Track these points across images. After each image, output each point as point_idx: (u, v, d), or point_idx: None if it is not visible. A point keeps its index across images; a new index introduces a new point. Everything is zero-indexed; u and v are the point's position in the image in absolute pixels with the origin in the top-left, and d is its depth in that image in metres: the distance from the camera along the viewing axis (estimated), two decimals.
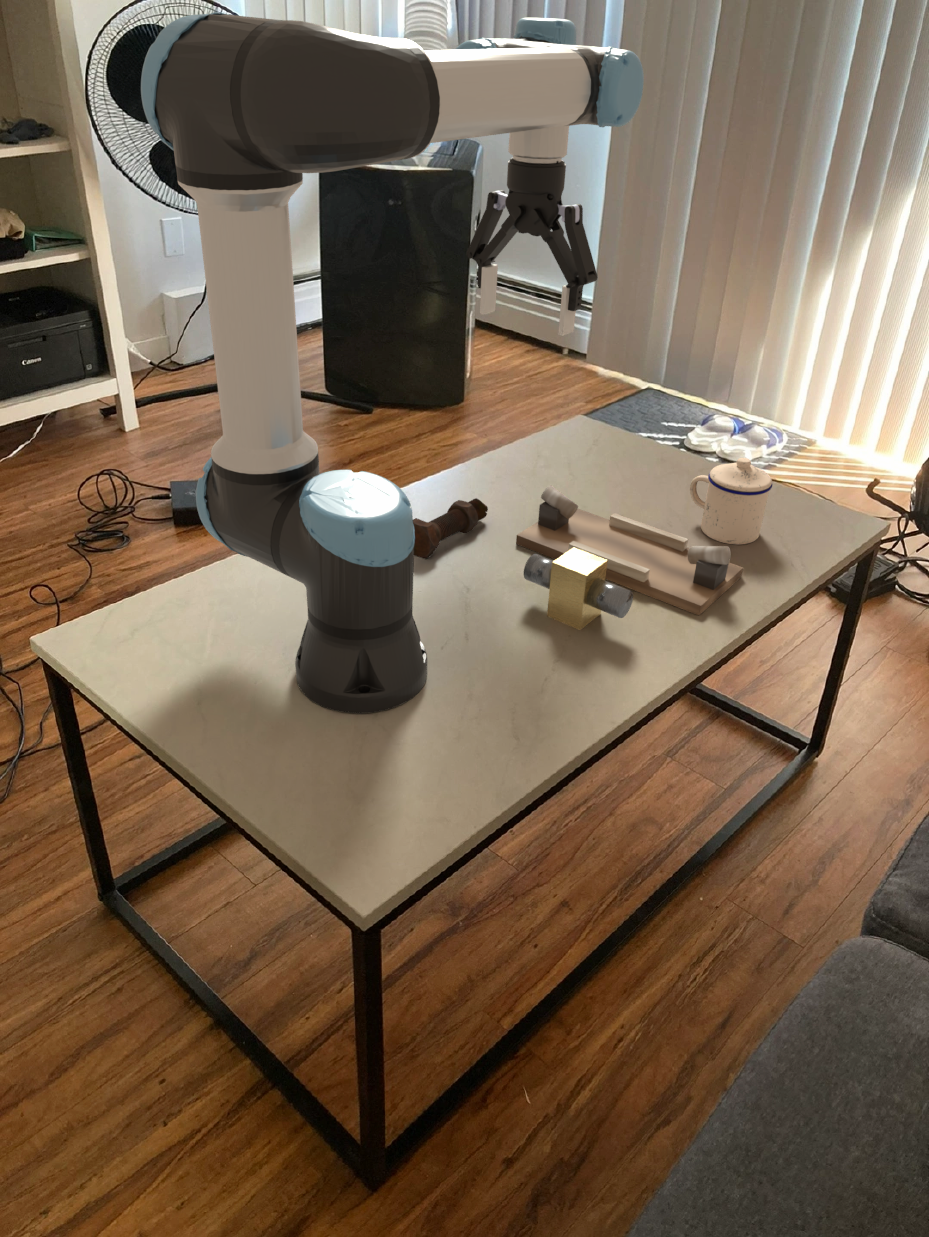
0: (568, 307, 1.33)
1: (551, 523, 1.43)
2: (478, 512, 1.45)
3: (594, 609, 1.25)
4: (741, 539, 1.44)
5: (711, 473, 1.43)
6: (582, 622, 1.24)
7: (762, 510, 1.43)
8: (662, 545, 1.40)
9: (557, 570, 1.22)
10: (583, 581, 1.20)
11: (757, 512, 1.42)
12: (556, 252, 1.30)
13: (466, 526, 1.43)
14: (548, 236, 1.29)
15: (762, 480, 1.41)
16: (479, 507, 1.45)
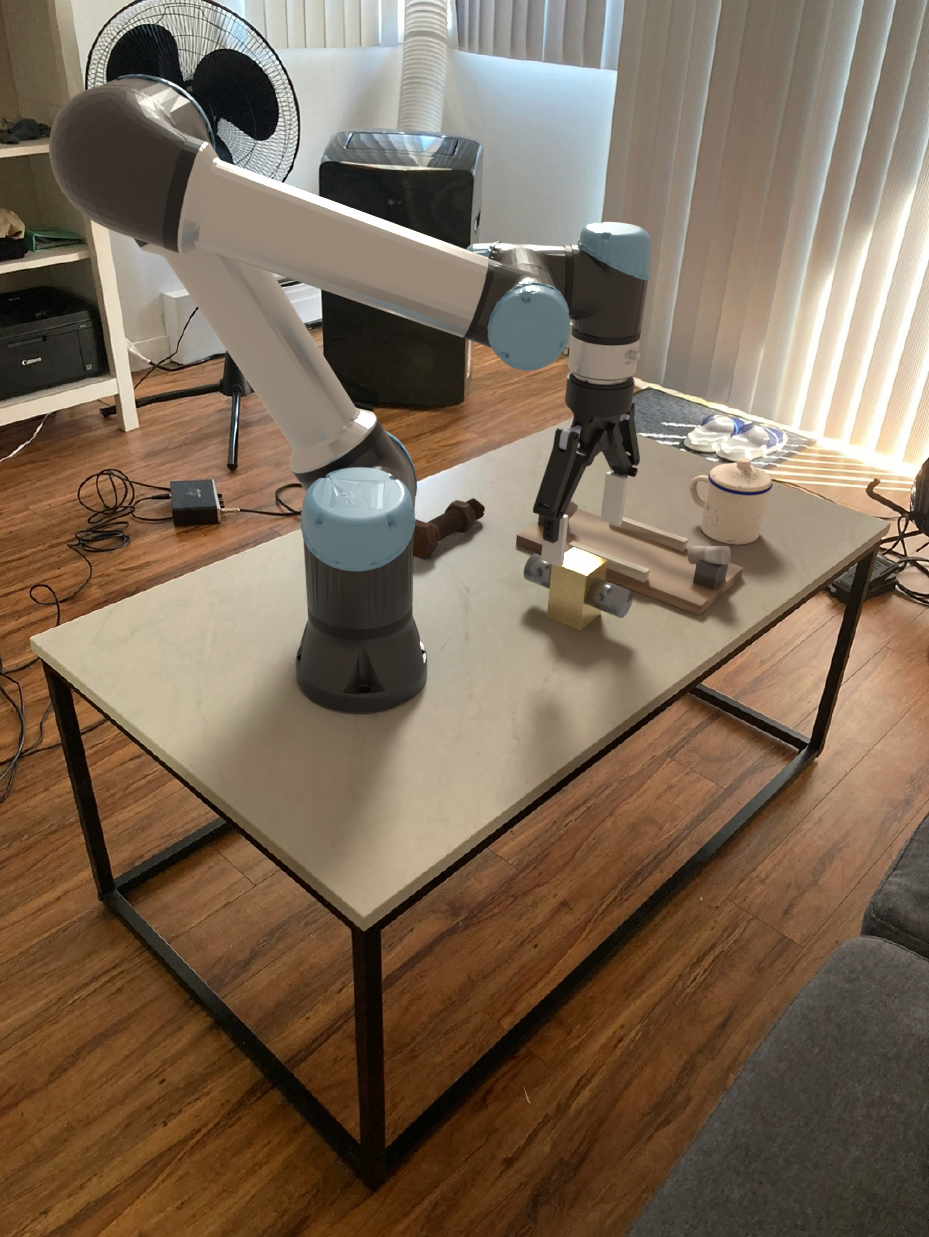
0: None
1: None
2: (475, 512, 1.45)
3: (594, 609, 1.25)
4: (741, 539, 1.44)
5: (711, 473, 1.43)
6: (582, 622, 1.24)
7: (762, 510, 1.43)
8: (662, 545, 1.40)
9: (557, 570, 1.22)
10: (583, 581, 1.20)
11: (757, 512, 1.42)
12: None
13: (464, 526, 1.43)
14: None
15: (762, 480, 1.41)
16: (476, 507, 1.45)
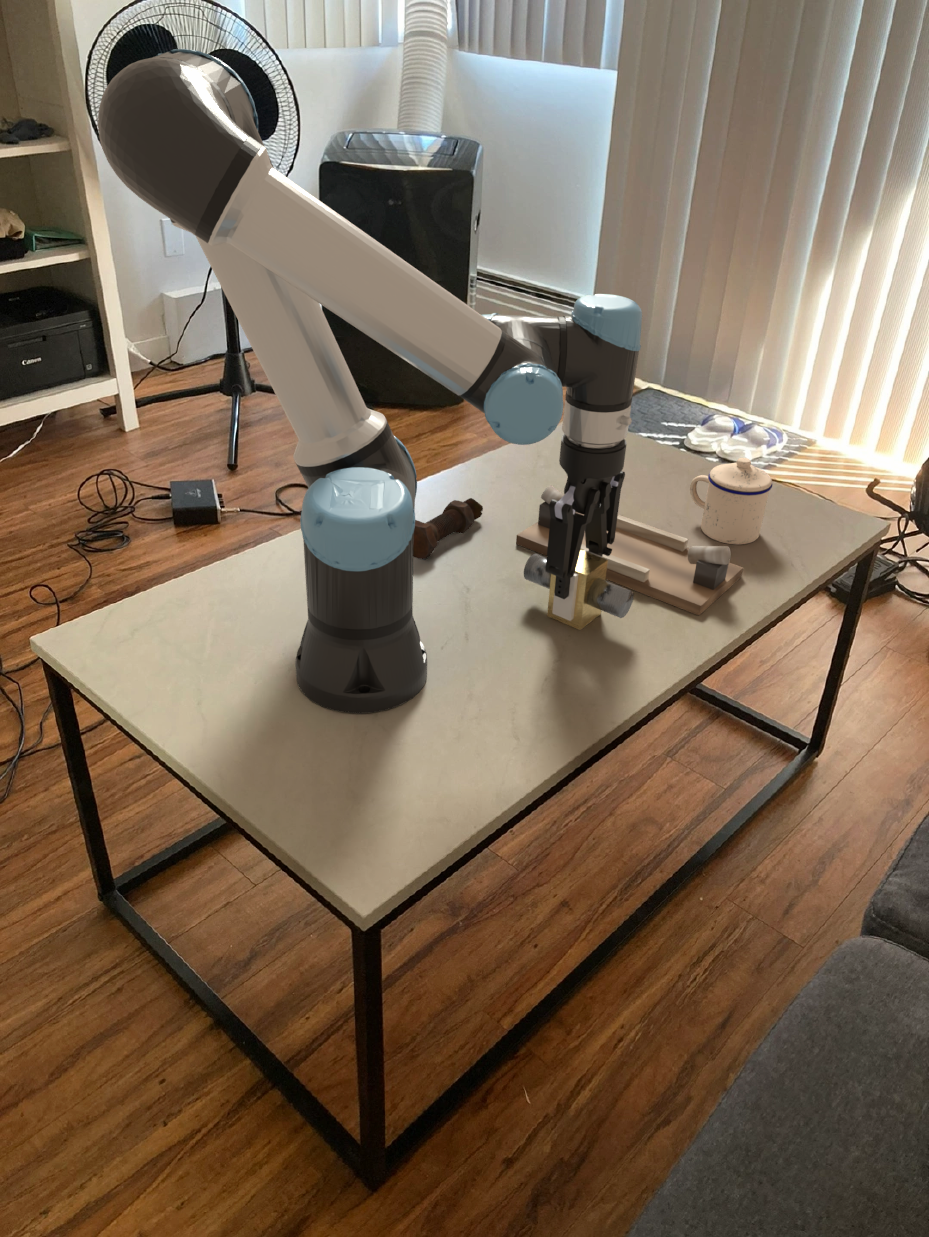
0: None
1: None
2: (474, 512, 1.45)
3: (594, 609, 1.25)
4: (741, 539, 1.44)
5: (711, 473, 1.43)
6: (582, 622, 1.24)
7: (762, 510, 1.43)
8: (662, 545, 1.40)
9: None
10: (583, 581, 1.20)
11: (757, 512, 1.42)
12: None
13: (462, 526, 1.43)
14: None
15: (762, 480, 1.41)
16: (474, 507, 1.45)
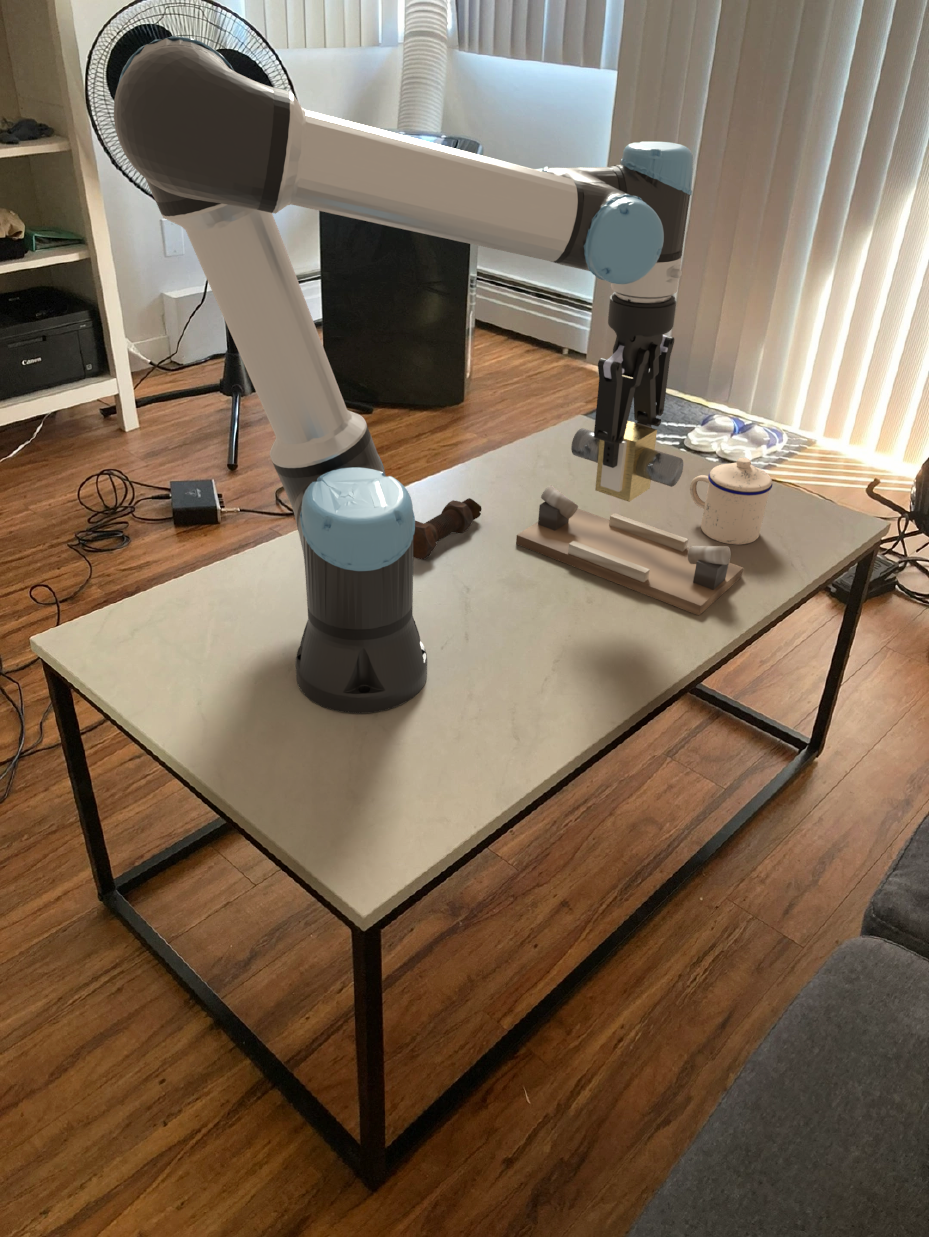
0: None
1: (551, 523, 1.43)
2: (472, 512, 1.45)
3: (643, 481, 1.24)
4: (741, 539, 1.44)
5: (711, 473, 1.43)
6: (631, 493, 1.22)
7: (762, 510, 1.43)
8: (662, 545, 1.40)
9: None
10: (632, 448, 1.19)
11: (757, 512, 1.42)
12: None
13: (461, 526, 1.43)
14: None
15: (762, 480, 1.41)
16: (473, 507, 1.45)
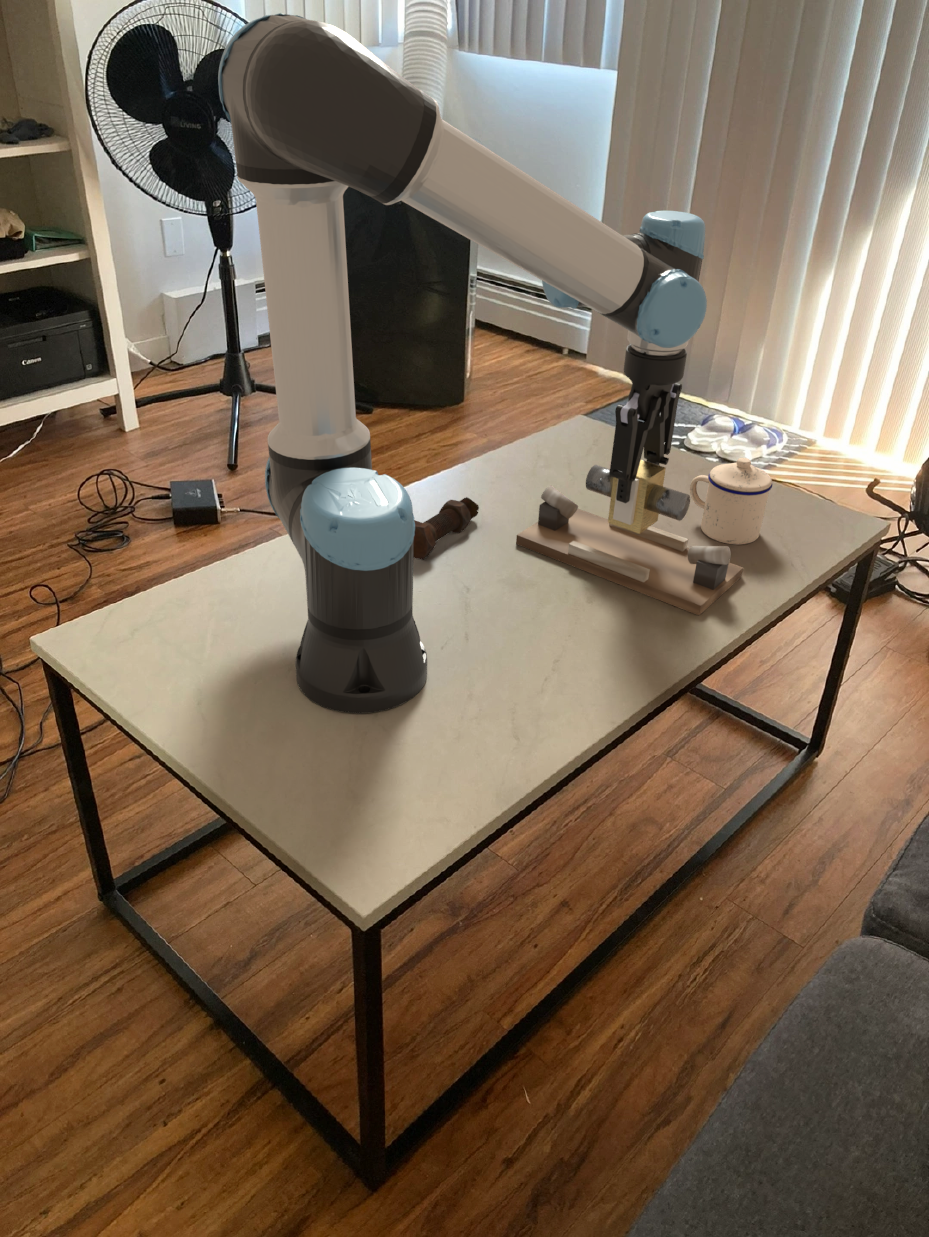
0: None
1: (551, 523, 1.43)
2: (470, 511, 1.45)
3: (652, 515, 1.34)
4: (741, 539, 1.44)
5: (711, 473, 1.43)
6: (642, 526, 1.33)
7: (762, 510, 1.43)
8: (662, 545, 1.40)
9: None
10: (644, 485, 1.30)
11: (757, 512, 1.42)
12: None
13: (459, 525, 1.43)
14: None
15: (762, 480, 1.41)
16: (471, 506, 1.45)
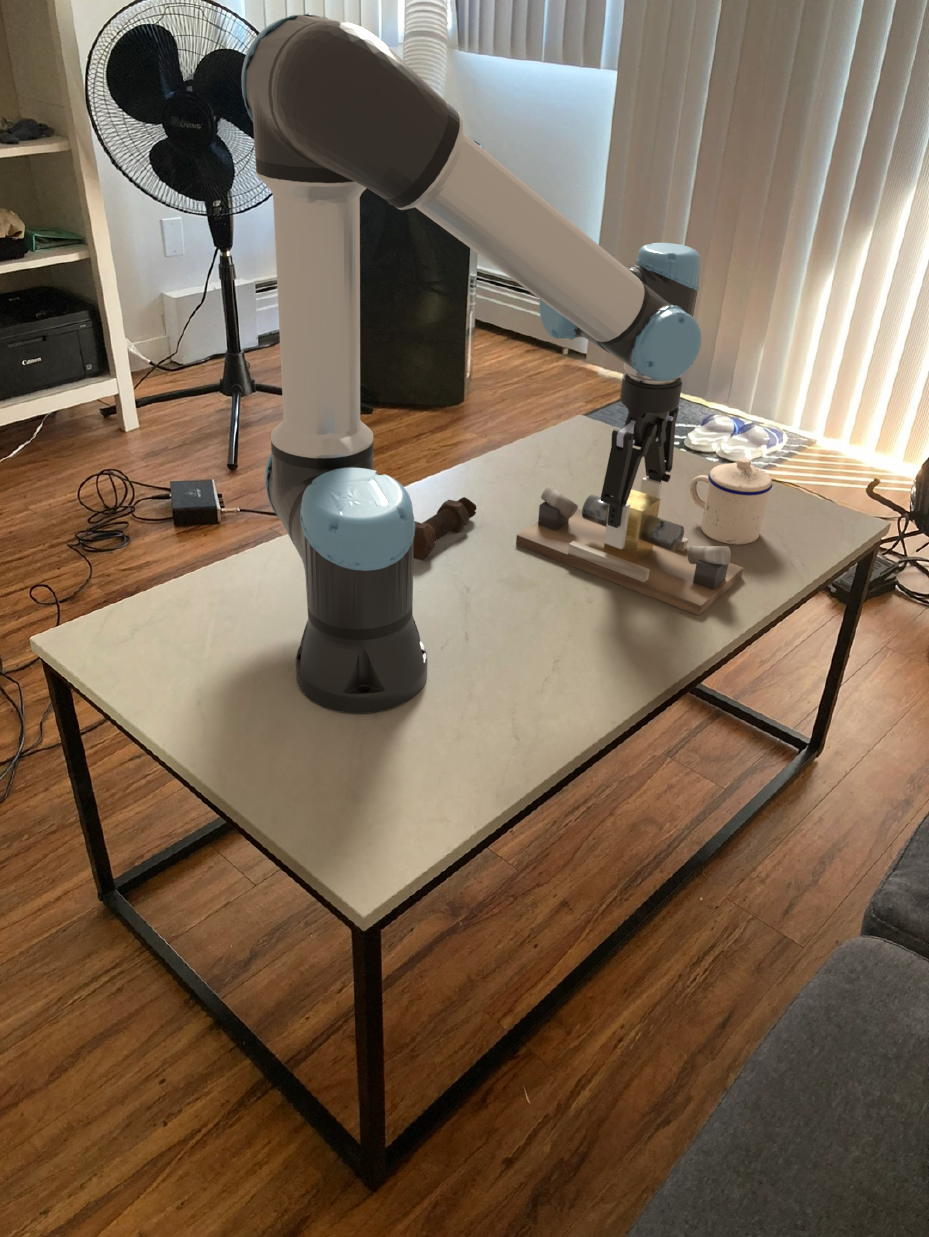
0: None
1: (551, 523, 1.43)
2: (468, 511, 1.45)
3: (647, 545, 1.37)
4: (741, 539, 1.44)
5: (711, 473, 1.43)
6: (636, 556, 1.35)
7: (762, 510, 1.43)
8: None
9: None
10: (639, 517, 1.32)
11: (757, 512, 1.42)
12: None
13: (457, 525, 1.43)
14: None
15: (762, 480, 1.41)
16: (468, 506, 1.45)
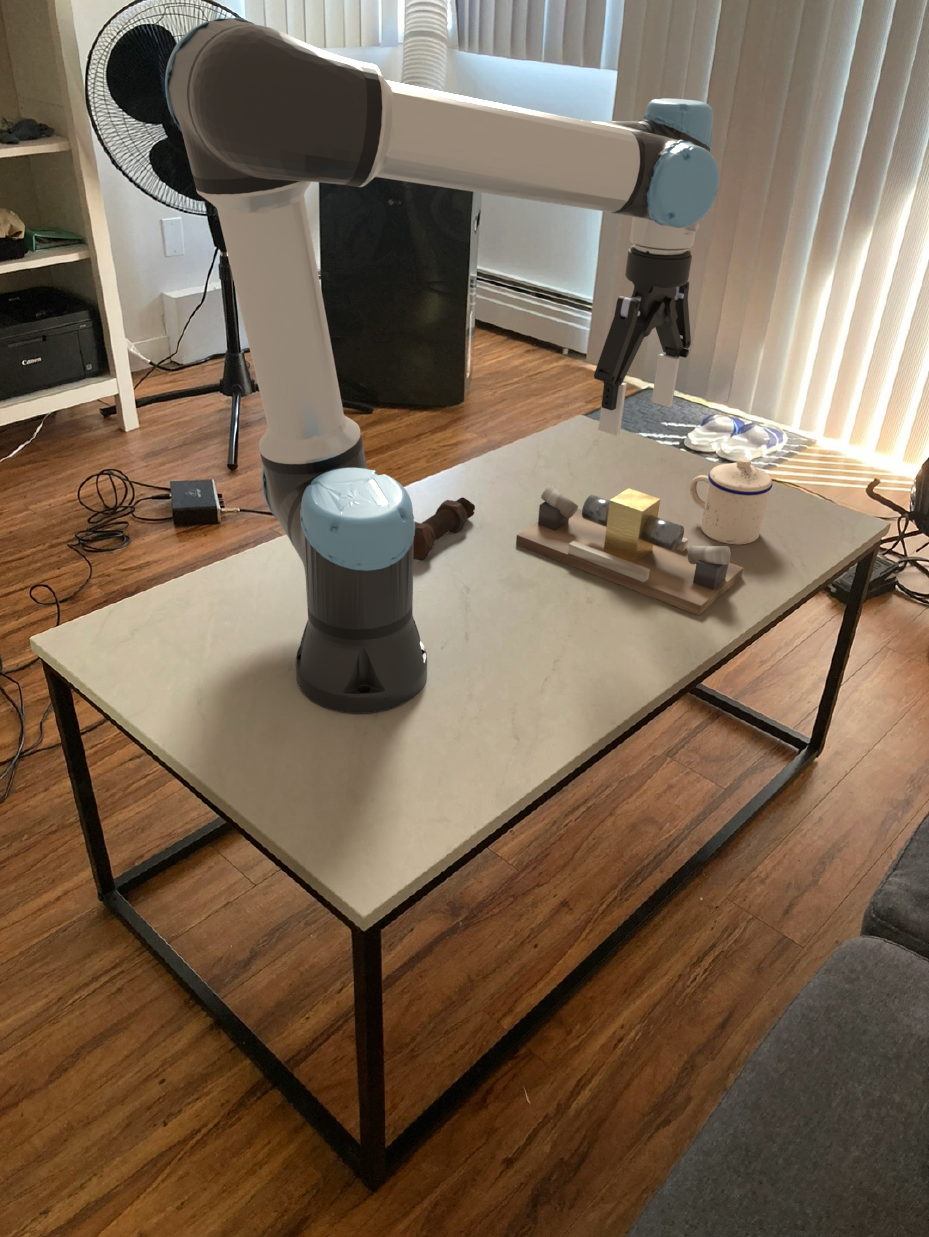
0: None
1: (551, 523, 1.43)
2: (466, 511, 1.45)
3: (647, 545, 1.37)
4: (741, 539, 1.44)
5: (711, 473, 1.43)
6: (636, 556, 1.35)
7: (762, 510, 1.43)
8: None
9: (614, 507, 1.34)
10: (639, 517, 1.32)
11: (757, 512, 1.42)
12: None
13: (456, 525, 1.43)
14: None
15: (762, 480, 1.41)
16: (467, 506, 1.45)
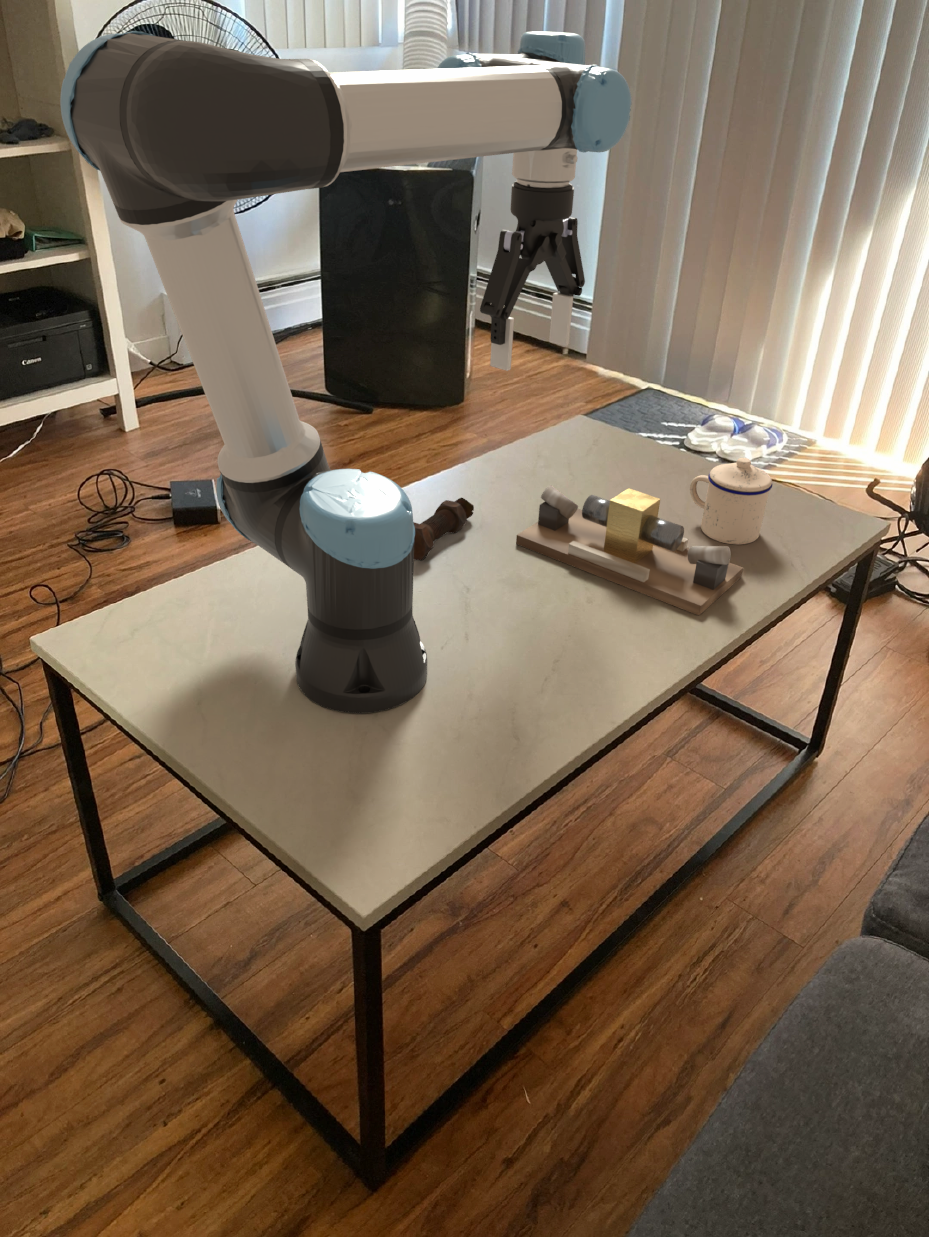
0: None
1: (551, 523, 1.43)
2: (465, 511, 1.45)
3: (647, 545, 1.37)
4: (741, 539, 1.44)
5: (711, 473, 1.43)
6: (636, 556, 1.35)
7: (762, 510, 1.43)
8: None
9: (614, 507, 1.34)
10: (639, 517, 1.32)
11: (757, 512, 1.42)
12: None
13: (455, 526, 1.43)
14: None
15: (762, 480, 1.41)
16: (466, 506, 1.45)
